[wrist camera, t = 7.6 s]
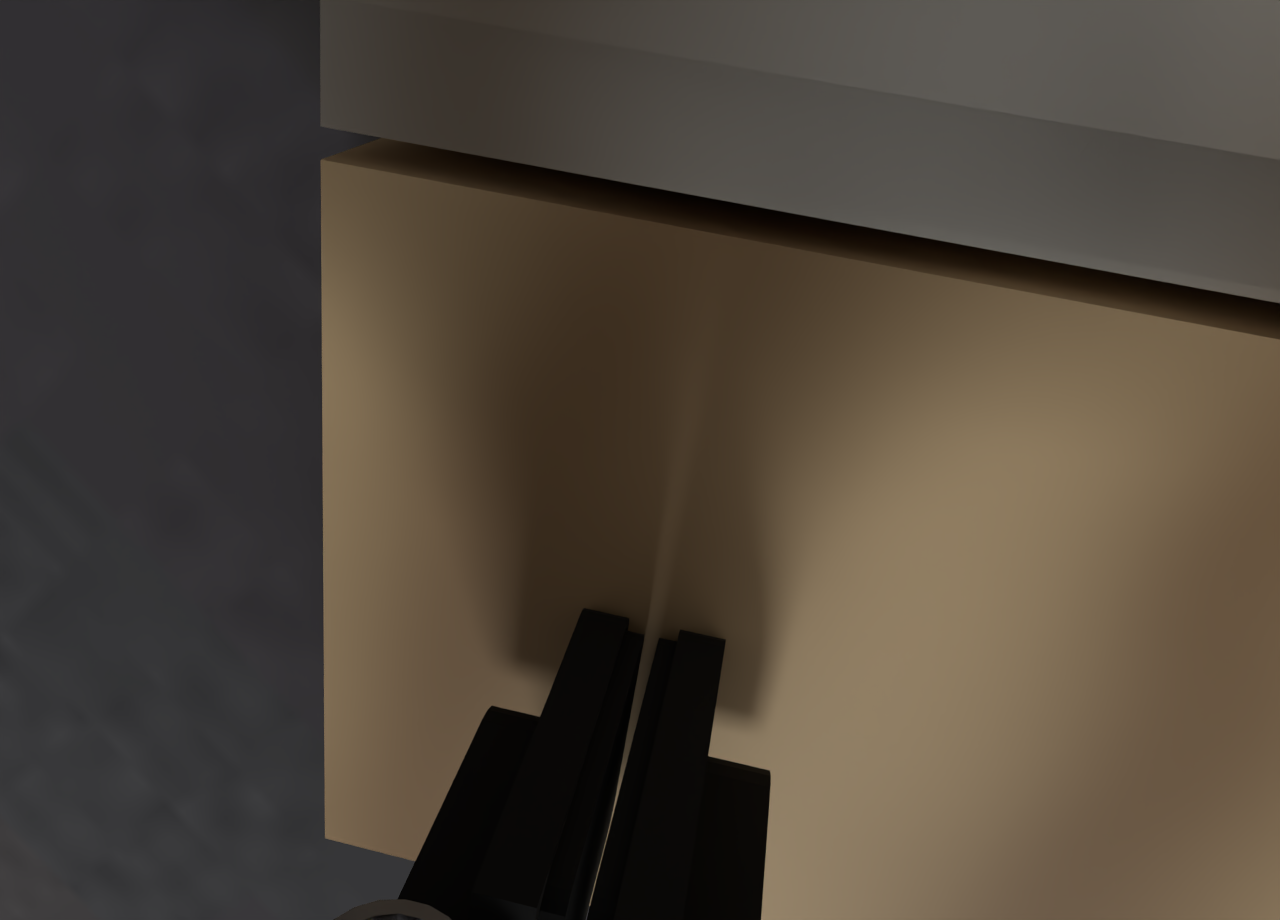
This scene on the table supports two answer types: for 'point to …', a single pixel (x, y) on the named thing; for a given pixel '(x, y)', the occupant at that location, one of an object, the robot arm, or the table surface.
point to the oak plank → (810, 532)
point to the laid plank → (865, 113)
